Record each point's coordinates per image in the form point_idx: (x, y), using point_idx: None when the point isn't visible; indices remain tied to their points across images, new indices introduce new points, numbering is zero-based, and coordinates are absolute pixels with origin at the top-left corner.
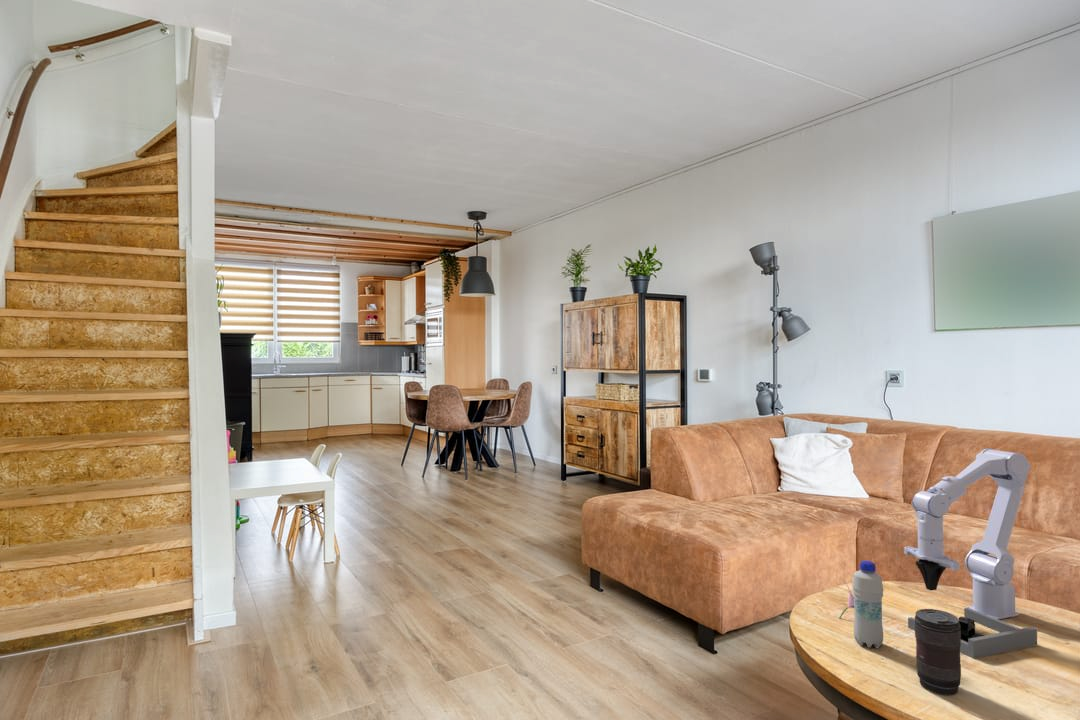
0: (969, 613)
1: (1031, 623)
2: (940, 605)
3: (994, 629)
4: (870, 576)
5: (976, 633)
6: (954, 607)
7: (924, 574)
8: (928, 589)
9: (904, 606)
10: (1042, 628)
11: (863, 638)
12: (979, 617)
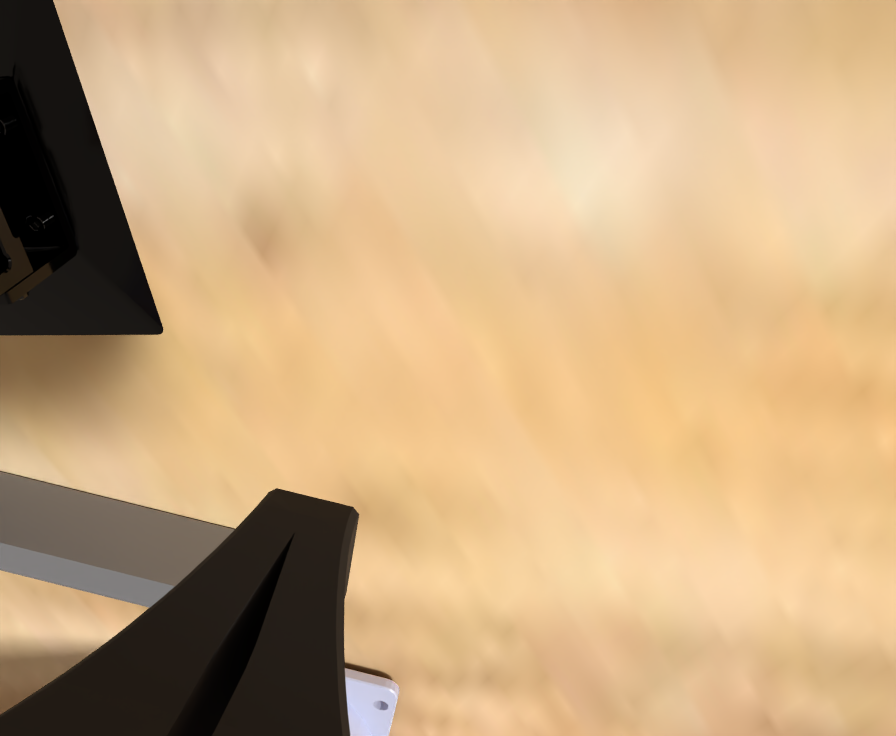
0: None
1: None
2: (547, 638)
3: (47, 487)
4: None
5: (13, 304)
6: (463, 667)
7: (247, 709)
8: (312, 499)
9: (756, 405)
10: (7, 694)
11: None
12: (142, 551)
